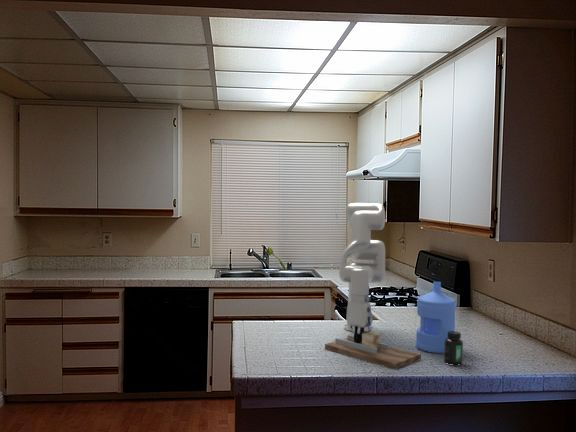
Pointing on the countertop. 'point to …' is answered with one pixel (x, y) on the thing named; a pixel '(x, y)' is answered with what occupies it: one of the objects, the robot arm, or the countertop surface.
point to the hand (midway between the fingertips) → (357, 342)
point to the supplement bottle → (453, 348)
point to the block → (371, 339)
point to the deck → (383, 357)
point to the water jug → (435, 320)
